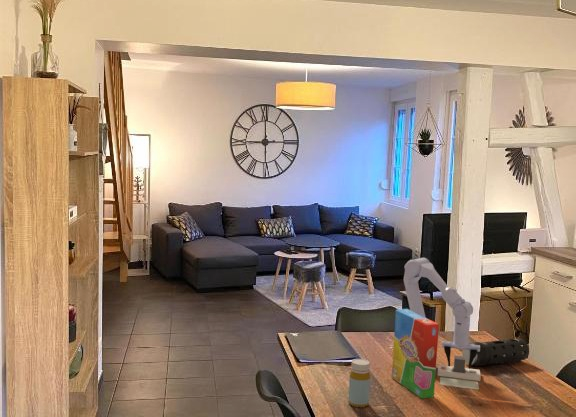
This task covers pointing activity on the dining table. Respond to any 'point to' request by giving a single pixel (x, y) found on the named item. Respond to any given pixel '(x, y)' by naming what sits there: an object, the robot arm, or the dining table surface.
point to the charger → (459, 364)
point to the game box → (415, 352)
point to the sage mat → (459, 383)
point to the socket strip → (468, 373)
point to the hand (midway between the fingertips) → (459, 366)
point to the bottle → (359, 383)
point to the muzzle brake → (498, 352)
